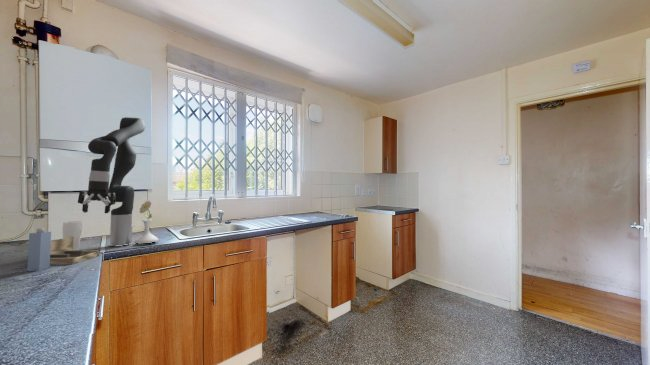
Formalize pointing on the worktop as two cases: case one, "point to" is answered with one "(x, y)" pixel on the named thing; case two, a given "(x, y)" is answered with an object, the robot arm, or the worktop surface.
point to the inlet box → (68, 252)
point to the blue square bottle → (39, 250)
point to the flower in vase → (146, 226)
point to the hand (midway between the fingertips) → (95, 212)
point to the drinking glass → (73, 232)
